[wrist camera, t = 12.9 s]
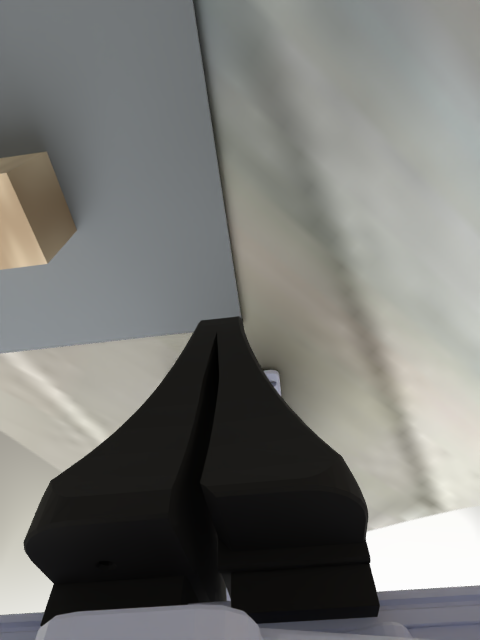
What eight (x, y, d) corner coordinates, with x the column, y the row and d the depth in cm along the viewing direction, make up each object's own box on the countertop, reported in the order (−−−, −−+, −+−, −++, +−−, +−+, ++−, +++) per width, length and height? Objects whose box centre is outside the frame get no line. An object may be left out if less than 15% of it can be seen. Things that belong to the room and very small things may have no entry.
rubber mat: (242, 322, 25) (242, 326, 25) (-81, 358, 26) (-85, 362, 26) (183, -62, 15) (182, -65, 15) (-336, 30, 16) (-348, 29, 16)
